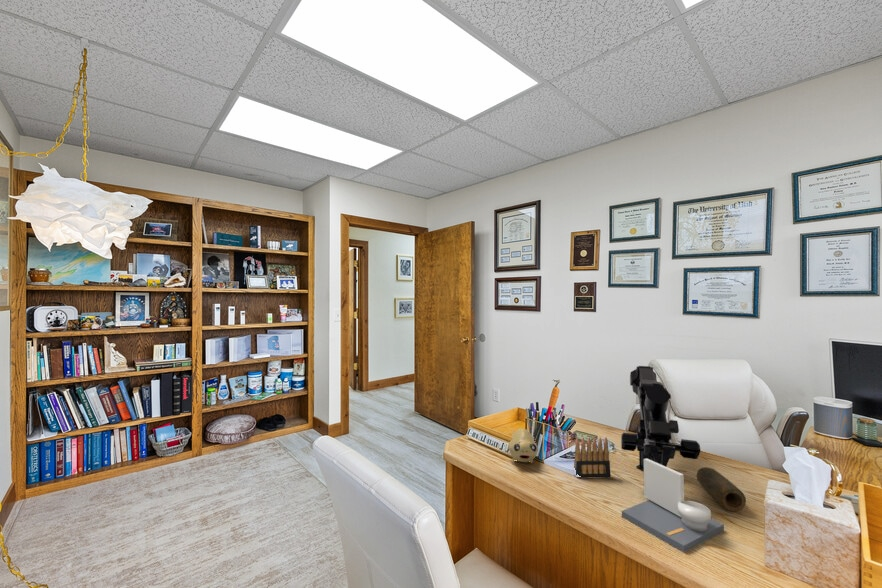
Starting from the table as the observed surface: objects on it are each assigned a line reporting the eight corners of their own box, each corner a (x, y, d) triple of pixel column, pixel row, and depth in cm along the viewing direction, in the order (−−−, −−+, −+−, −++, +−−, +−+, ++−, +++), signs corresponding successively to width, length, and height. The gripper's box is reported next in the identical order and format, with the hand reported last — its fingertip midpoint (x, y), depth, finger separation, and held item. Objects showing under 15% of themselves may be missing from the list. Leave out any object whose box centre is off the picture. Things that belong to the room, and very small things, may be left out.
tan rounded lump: (510, 469, 120) (509, 436, 120) (507, 454, 132) (506, 424, 132) (541, 471, 119) (540, 437, 119) (535, 455, 131) (535, 424, 131)
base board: (621, 516, 94) (621, 502, 94) (661, 500, 101) (660, 487, 101) (683, 552, 80) (683, 536, 80) (724, 530, 88) (723, 515, 88)
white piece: (717, 527, 86) (716, 483, 86) (699, 534, 83) (698, 489, 83) (654, 493, 100) (653, 456, 101) (637, 499, 98) (636, 460, 98)
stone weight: (752, 516, 94) (752, 489, 94) (722, 514, 95) (721, 487, 95) (717, 486, 108) (717, 463, 109) (691, 484, 109) (691, 461, 110)
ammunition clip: (608, 474, 116) (607, 436, 116) (610, 477, 114) (610, 438, 114) (573, 475, 116) (573, 436, 116) (576, 478, 114) (575, 438, 114)
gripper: (621, 404, 107) (624, 458, 97) (698, 411, 100) (710, 470, 90) (619, 423, 114) (622, 475, 104) (691, 431, 107) (702, 487, 97)
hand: (662, 476), depth 98 cm, fingers closed
